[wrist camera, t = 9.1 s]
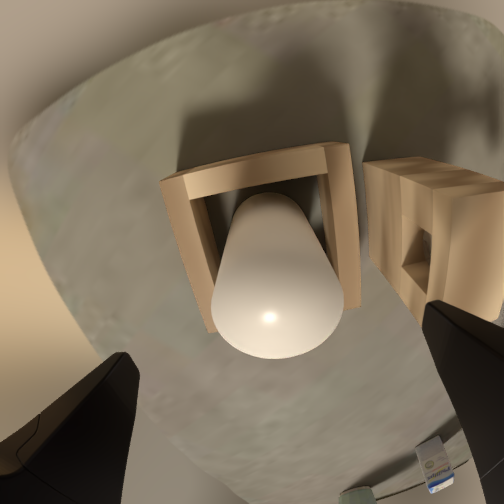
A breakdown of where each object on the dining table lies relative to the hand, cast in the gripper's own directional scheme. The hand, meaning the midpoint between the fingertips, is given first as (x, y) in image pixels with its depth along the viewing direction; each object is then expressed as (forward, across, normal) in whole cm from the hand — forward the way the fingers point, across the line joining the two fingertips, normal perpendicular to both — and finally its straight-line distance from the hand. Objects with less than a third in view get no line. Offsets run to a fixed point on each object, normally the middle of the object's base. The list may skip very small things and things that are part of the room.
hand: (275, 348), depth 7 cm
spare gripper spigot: (+10, 0, 0) cm, 10 cm away
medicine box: (+10, -20, +41) cm, 47 cm away
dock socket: (+10, -3, 0) cm, 10 cm away
